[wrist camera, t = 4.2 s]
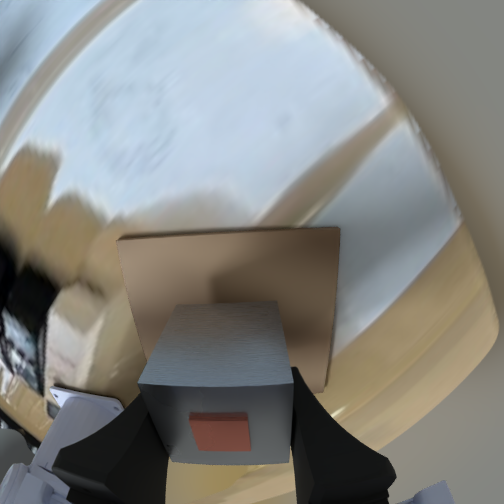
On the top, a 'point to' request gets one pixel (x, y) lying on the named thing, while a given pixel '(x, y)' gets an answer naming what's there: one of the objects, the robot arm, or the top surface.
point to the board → (240, 283)
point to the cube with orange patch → (222, 385)
